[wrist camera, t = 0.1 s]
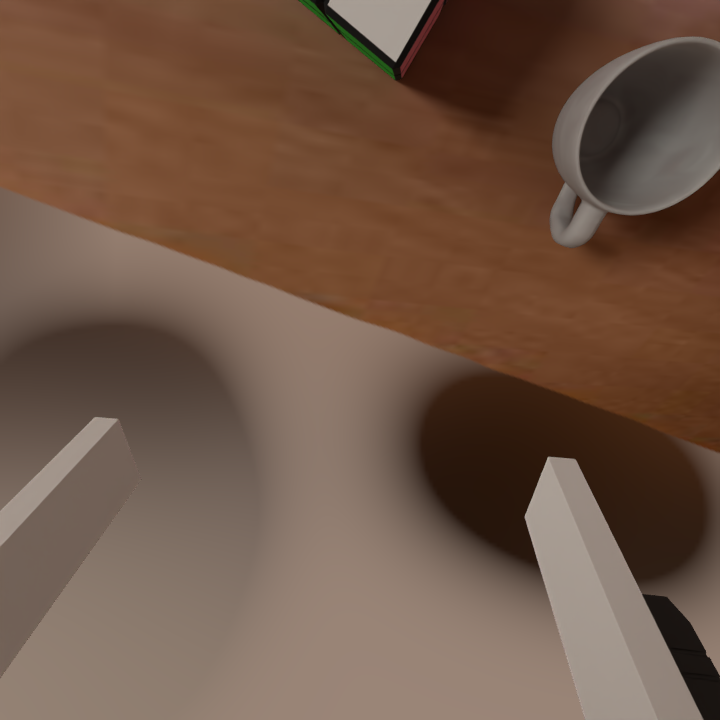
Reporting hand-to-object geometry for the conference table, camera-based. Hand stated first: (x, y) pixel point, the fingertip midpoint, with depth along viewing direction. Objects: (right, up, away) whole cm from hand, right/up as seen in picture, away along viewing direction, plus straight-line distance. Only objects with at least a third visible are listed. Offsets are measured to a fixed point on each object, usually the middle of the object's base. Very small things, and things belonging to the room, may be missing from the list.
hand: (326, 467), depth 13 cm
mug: (+18, +20, +19) cm, 33 cm away
